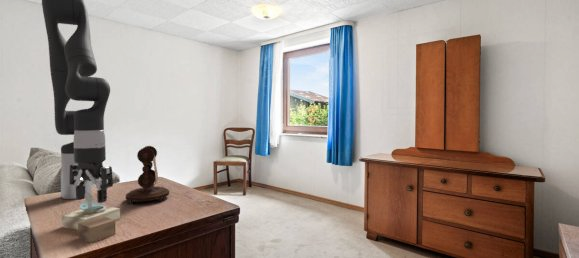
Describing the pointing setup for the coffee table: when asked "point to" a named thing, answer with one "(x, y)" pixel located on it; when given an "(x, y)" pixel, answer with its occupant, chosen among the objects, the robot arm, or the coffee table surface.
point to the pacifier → (91, 204)
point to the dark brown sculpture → (147, 179)
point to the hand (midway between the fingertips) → (91, 200)
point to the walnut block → (96, 229)
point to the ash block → (88, 216)
